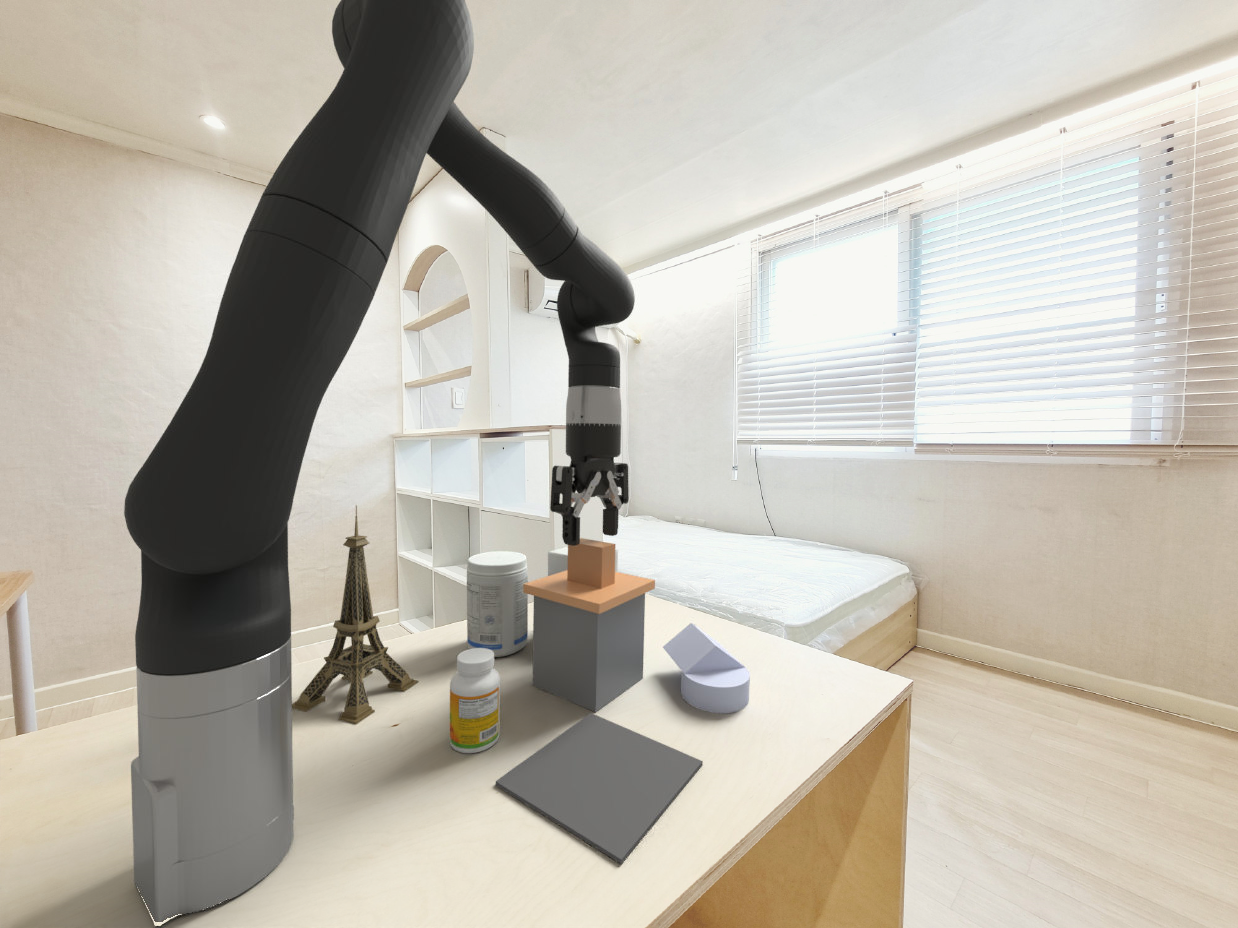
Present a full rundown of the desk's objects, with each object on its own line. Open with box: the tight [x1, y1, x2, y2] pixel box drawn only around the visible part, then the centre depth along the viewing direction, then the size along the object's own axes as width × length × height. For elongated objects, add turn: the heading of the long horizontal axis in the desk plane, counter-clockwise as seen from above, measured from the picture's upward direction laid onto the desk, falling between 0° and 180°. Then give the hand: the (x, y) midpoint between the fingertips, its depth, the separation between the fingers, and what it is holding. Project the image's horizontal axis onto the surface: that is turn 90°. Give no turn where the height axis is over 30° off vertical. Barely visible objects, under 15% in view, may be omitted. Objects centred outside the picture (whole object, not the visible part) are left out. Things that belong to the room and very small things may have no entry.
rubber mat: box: [495, 712, 703, 865], centre depth 50 cm, size 15×15×1 cm
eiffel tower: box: [292, 504, 419, 725], centre depth 63 cm, size 11×11×25 cm
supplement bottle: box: [449, 648, 501, 754], centre depth 55 cm, size 5×5×10 cm
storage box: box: [532, 593, 646, 713], centre depth 68 cm, size 11×11×13 cm
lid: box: [523, 537, 656, 614], centre depth 68 cm, size 13×13×8 cm
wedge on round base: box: [662, 622, 751, 714], centre depth 68 cm, size 9×7×13 cm
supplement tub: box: [466, 550, 529, 658], centre depth 79 cm, size 10×10×15 cm
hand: (591, 539), depth 67 cm, fingers open, 8 cm apart
